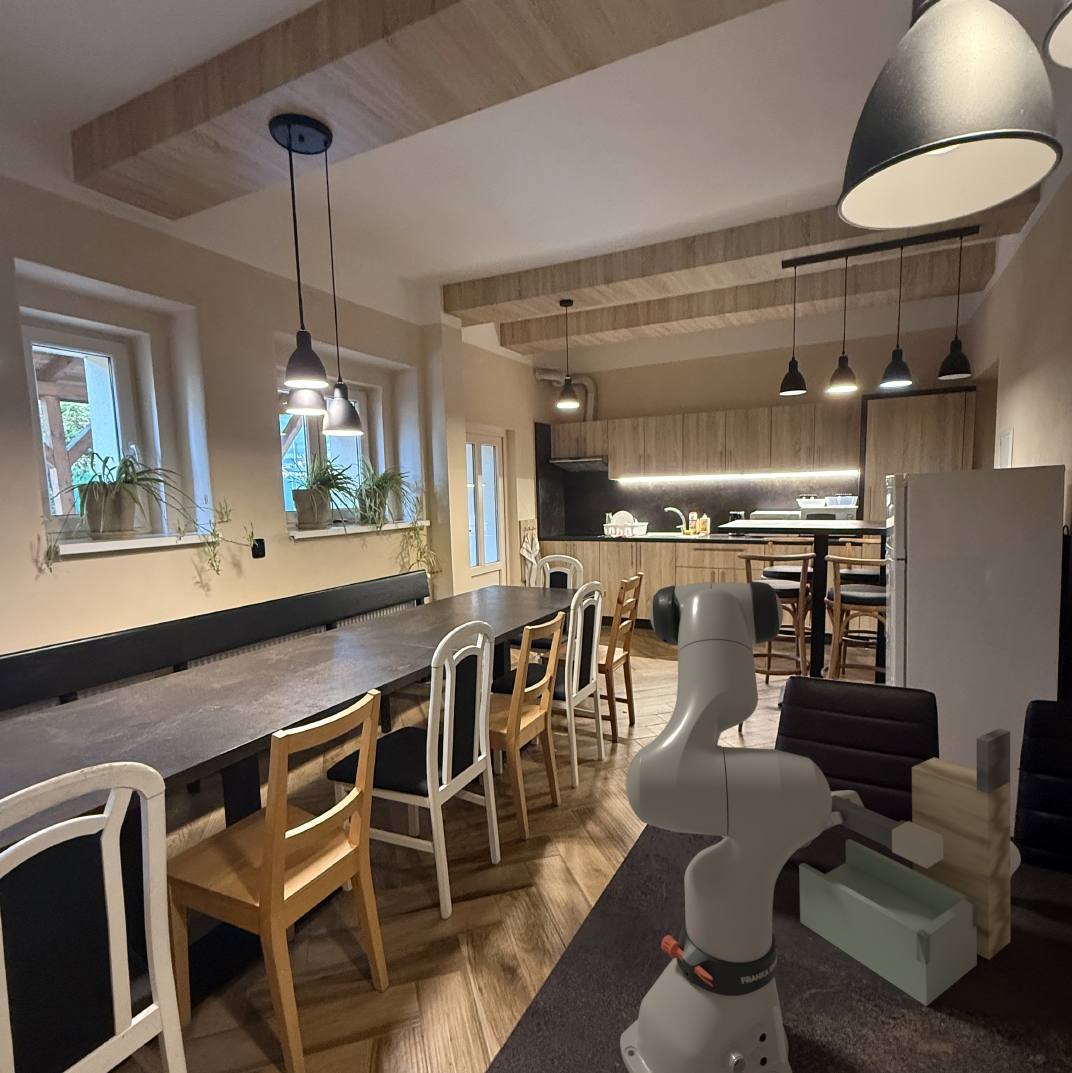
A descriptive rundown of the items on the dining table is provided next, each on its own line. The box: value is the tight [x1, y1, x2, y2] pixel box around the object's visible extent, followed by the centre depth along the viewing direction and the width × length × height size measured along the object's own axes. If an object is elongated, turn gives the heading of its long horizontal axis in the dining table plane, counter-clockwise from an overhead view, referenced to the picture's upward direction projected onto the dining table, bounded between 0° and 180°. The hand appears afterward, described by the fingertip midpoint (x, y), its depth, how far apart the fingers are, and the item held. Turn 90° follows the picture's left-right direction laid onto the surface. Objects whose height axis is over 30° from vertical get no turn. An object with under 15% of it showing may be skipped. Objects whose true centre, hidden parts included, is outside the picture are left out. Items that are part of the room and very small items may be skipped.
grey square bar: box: [831, 795, 943, 868], centre depth 95 cm, size 4×17×4 cm, turn 30°
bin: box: [798, 838, 978, 1007], centre depth 95 cm, size 14×20×10 cm
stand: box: [911, 728, 1011, 961], centre depth 96 cm, size 7×11×34 cm, turn 30°
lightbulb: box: [1010, 840, 1022, 880], centre depth 104 cm, size 6×6×11 cm
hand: (850, 812), depth 99 cm, fingers closed on grey square bar, 3 cm apart
